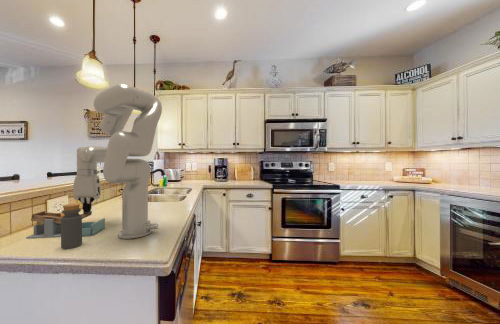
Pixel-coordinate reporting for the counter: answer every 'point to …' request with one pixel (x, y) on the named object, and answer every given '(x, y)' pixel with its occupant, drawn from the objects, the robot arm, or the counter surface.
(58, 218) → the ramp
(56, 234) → the stand
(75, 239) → the bottle
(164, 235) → the counter surface
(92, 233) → the tray
